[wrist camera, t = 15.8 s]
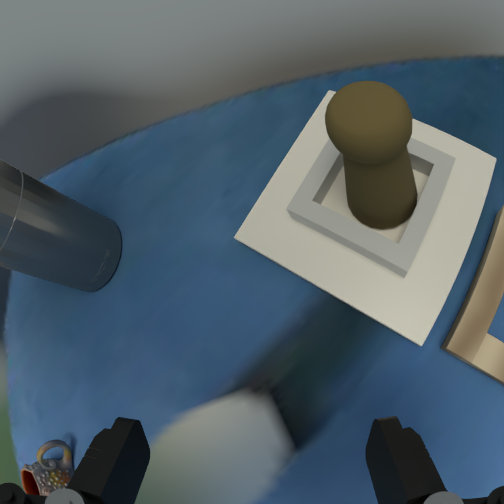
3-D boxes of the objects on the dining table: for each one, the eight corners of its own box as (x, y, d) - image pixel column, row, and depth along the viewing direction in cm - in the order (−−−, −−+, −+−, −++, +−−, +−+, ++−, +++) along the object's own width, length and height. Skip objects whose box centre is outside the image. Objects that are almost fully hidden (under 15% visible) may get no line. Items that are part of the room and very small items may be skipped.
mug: (79, 510, 27) (43, 521, 21) (49, 477, 30) (14, 484, 24) (96, 457, 29) (54, 467, 23) (63, 422, 31) (23, 426, 25)
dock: (239, 241, 29) (223, 229, 26) (331, 97, 30) (325, 75, 27) (419, 346, 22) (426, 346, 19) (492, 165, 23) (503, 145, 20)
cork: (372, 152, 26) (348, 56, 17) (430, 187, 23) (437, 89, 13) (332, 203, 26) (289, 117, 17) (390, 243, 23) (382, 164, 14)
